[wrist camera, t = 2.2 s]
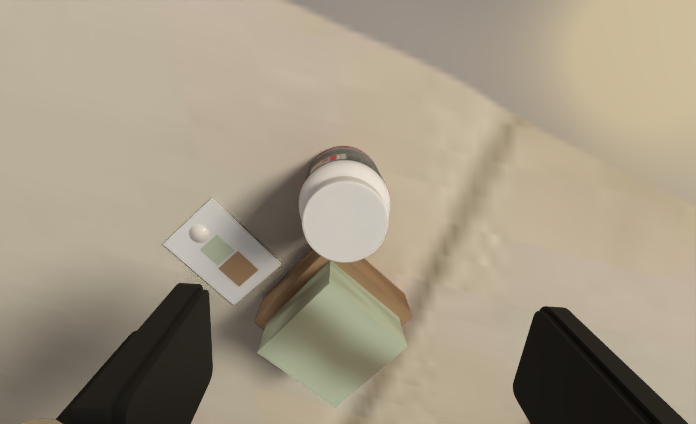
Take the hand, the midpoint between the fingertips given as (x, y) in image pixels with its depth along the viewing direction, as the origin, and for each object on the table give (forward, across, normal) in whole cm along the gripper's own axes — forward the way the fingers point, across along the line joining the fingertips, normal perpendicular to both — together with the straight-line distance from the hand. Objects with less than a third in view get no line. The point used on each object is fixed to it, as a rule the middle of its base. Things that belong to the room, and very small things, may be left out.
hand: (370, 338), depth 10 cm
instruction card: (+19, +10, +7) cm, 23 cm away
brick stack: (+19, +1, +11) cm, 22 cm away
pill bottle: (+19, +1, 0) cm, 19 cm away
